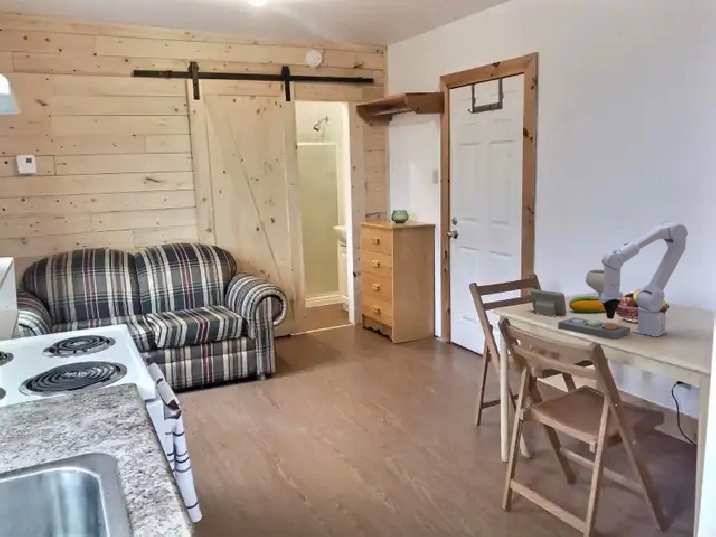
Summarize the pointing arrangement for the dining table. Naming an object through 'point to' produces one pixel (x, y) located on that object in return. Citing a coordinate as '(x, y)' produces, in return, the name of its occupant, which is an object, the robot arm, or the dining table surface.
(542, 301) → the digital clock
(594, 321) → the button sage
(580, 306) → the corn
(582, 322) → the button slate
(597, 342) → the dining table surface
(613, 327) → the button terracotta
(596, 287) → the chalice
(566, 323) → the button panel
